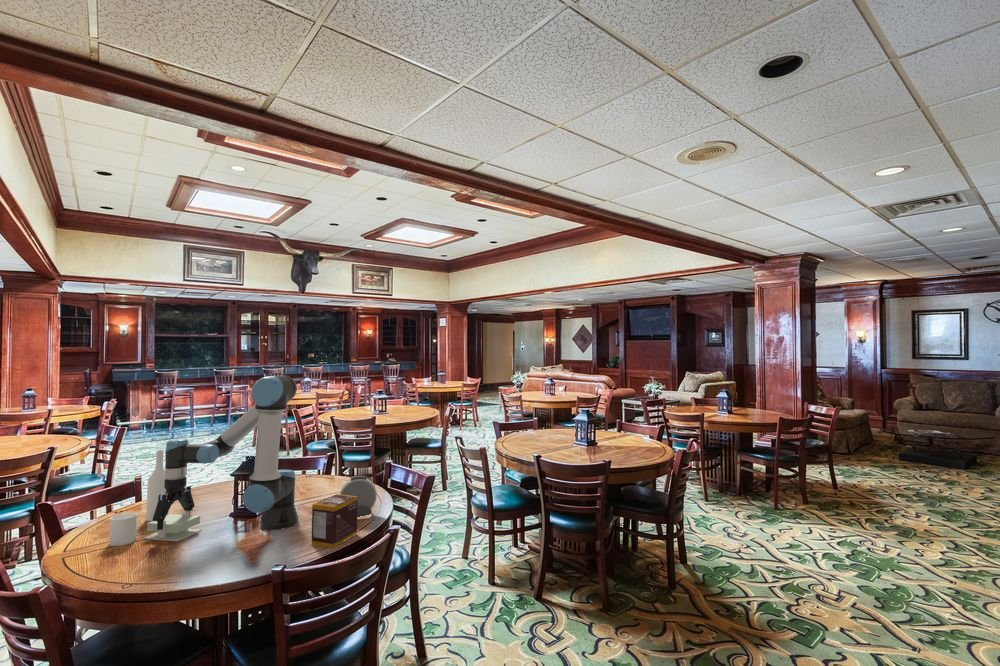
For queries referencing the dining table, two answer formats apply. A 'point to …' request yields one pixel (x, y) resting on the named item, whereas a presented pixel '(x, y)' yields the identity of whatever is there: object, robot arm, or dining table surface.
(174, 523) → the board
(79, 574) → the dining table surface
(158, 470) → the bottle
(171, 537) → the mat
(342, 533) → the supplement box
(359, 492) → the alarm clock
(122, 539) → the cup
